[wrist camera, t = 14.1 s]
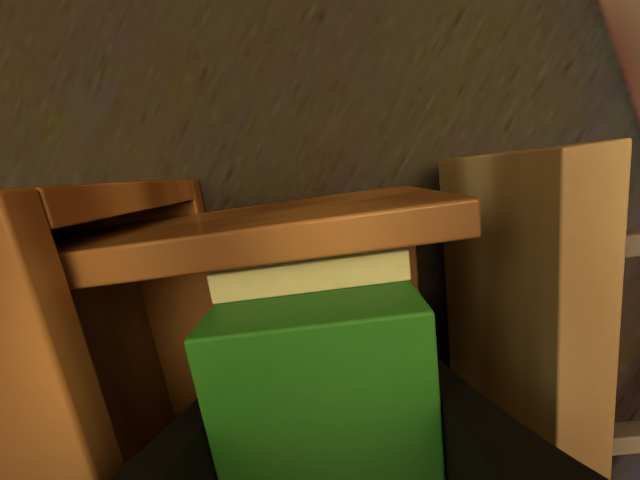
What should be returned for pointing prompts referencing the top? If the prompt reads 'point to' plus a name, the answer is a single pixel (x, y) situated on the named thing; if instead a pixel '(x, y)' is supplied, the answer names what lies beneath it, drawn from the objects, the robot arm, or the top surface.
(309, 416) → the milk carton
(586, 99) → the top surface
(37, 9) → the top surface
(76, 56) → the top surface
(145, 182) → the cabinet
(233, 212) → the drawer
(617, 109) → the top surface
